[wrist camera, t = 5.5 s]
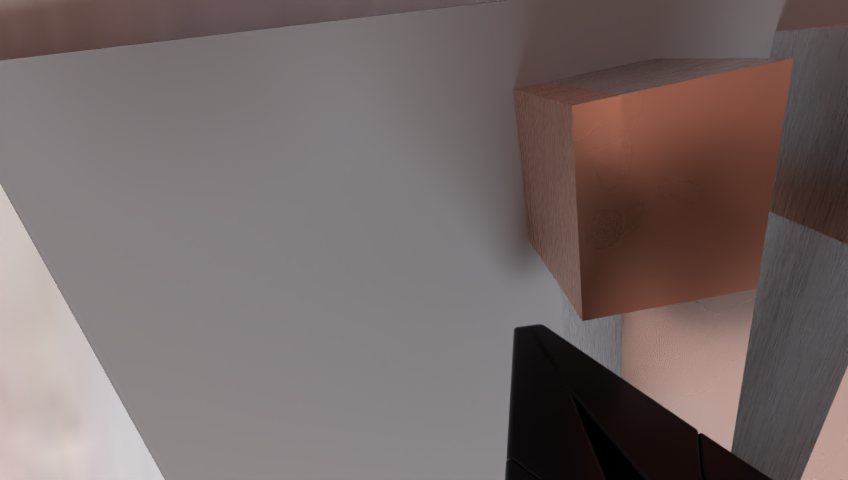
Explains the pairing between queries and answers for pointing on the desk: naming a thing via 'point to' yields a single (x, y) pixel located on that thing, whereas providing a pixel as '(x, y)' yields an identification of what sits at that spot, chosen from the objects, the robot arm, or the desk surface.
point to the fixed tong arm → (803, 277)
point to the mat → (322, 222)
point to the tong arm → (658, 218)
